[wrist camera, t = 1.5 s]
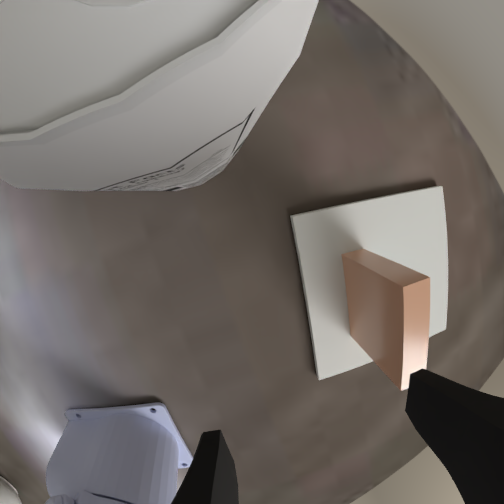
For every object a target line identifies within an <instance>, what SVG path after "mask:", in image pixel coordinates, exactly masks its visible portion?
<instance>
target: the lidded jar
mask: <svg viewBox="0 0 504 504" xmlns="http://www.w3.org/2000/svg"><path fill="white" fill-rule="evenodd" d="M0 504H22V503H21V500H20V498H19V496H18V492H17V490H16V489H15V488H14V487H13V486H12V485H11V484H10V483H9V482H8V481H7V480H6V479H4V478H3V477H2V476H0Z"/></svg>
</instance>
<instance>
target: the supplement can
mask: <svg viewBox="0 0 504 504" xmlns="http://www.w3.org/2000/svg"><path fill="white" fill-rule="evenodd" d="M317 4H318V0H0V179H2V180H3V181H5V182H7V183H8V184H10V185H12V186H13V187H15V188H21V189H48V190H68V191H179V190H182V189H186V188H190V187H194V186H198V185H202V184H203V183H205V182H206V181H208V180H209V179H211V178H212V177H214V176H215V175H217V174H219V173H220V172H222V171H223V170H224V169H225V167H226V166H227V165H228V163H229V162H230V161H231V160H232V158H233V157H234V156H235V155H236V153H237V152H238V151H239V149H240V147H241V146H242V144H243V142H244V141H245V139H246V137H247V136H248V134H249V133H250V131H251V129H252V128H253V126H254V124H255V123H256V121H257V120H258V118H259V116H260V115H261V113H262V112H263V110H264V109H265V107H266V105H267V104H268V102H269V101H270V99H271V98H272V96H273V95H274V93H275V91H276V90H277V88H278V87H279V85H280V84H281V82H282V81H283V79H284V78H285V76H286V75H287V73H288V72H289V70H290V69H291V67H292V66H293V64H294V63H295V61H296V60H297V59H298V57H299V56H300V53H301V50H302V47H303V44H304V41H305V38H306V35H307V32H308V30H309V27H310V24H311V21H312V18H313V15H314V12H315V9H316V6H317Z"/></svg>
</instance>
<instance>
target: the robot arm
mask: <svg viewBox="0 0 504 504" xmlns="http://www.w3.org/2000/svg"><path fill="white" fill-rule="evenodd" d="M151 408H154V409H155V410H152V409H151ZM405 411H406V413H407V415H408V416H409V418H410V420H411V422H412V423H413V425H414V427H415V429H416V430H417V431H418V433H419V434H420V435H421V437H422V438H423V439H424V440H425V442H426V443H427V444H428V445H429V447H430V448H431V449H432V451H433V452H434V453H435V454H436V456H437V457H438V458H439V459H440V460H441V462H442V463H443V464H444V466H445V467H446V469H447V470H448V472H449V474H450V475H451V477H452V479H453V481H454V482H455V484H456V486H457V488H458V490H459V492H460V494H461V496H462V498H463V500H464V502H465V504H504V398H501V397H497V396H493V395H490V394H486V393H483V392H480V391H477V390H474V389H471V388H469V387H466V386H464V385H461V384H459V383H456V382H454V381H451V380H449V379H447V378H444V377H442V376H440V375H437V374H435V373H433V372H430V371H428V370H426V369H423V368H422V369H420V370H418V371H416V372H414V373H411V374H410V379H409V388H408V395H407V402H406V409H405ZM65 416H66V418H67V419H68V421H69V422H68V424H67V426H66V428H65V430H64V432H63V434H62V436H61V438H60V440H59V442H58V444H57V446H56V448H55V450H54V452H53V454H52V456H51V458H50V461H49V463H48V466H47V470H46V485H47V490H48V493H49V495H50V498H49V499H48V500H47V502H46V503H45V504H239V501H238V483H237V476H236V470H235V464H234V460H233V458H232V456H231V454H230V451H229V449H228V447H227V444H226V442H225V439H224V437H223V435H222V432H221V430H215V431H208V432H203V434H202V435H201V438H200V441H199V444H198V447H197V450H196V452H195V455H194V458H193V456H192V455H191V453H190V451H189V449H188V448H187V446H186V444H185V442H184V440H183V439H182V437H181V435H180V433H179V431H178V429H177V427H176V426H175V424H174V422H173V420H172V418H171V416H170V414H169V412H168V410H167V408H166V406H165V405H164V404H163V403H160V402H156V403H148V404H140V405H130V406H120V407H108V408H92V409H68V410H66V412H65ZM187 467H189V469H188V472H187V474H186V476H185V478H184V480H183V482H182V484H181V486H180V488H179V490H178V492H177V493H176V490H177V474H178V468H187Z"/></svg>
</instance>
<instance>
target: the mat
mask: <svg viewBox="0 0 504 504" xmlns="http://www.w3.org/2000/svg"><path fill="white" fill-rule="evenodd" d="M290 218H291V223H292V229H293V234H294V239H295V244H296V250H297V255H298V261H299V266H300V272H301V278H302V283H303V289H304V295H305V301H306V307H307V314H308V320H309V326H310V333H311V339H312V346H313V353H314V360H315V367H316V374H317V377H318V379H319V380H321V379H324V378H327V377H331V376H334V375H337V374H339V373H342V372H345V371H348V370H351V369H354V368H356V367H359V366H362V365H365V364H367V363H370V362H372V361H373V360H372V359H371V358H370V357H369V355H368V354H367V353H366V352H365V351H364V350H363V349H362V348H361V347H360V346H359V345H358V343H357V342H356V341H355V340H354V339H353V338H352V337H351V336H350V325H349V314H348V304H347V295H346V286H345V278H344V270H343V262H342V255H341V254H344V253H348V252H352V251H356V250H360V249H366V250H368V251H370V252H373V253H375V254H378V255H380V256H382V257H385V258H387V259H389V260H392V261H394V262H396V263H399V264H401V265H403V266H406V267H408V268H410V269H413V270H415V271H417V272H419V273H422V274H424V275H426V276H428V277H430V324H429V337H431V336H433V335H435V334H437V333H439V332H441V331H443V330H445V329H446V320H447V301H448V247H447V229H446V216H445V205H444V196H443V188H442V186H434V187H428V188H423V189H418V190H412V191H407V192H402V193H397V194H392V195H386V196H381V197H376V198H371V199H366V200H361V201H356V202H352V203H347V204H342V205H337V206H332V207H328V208H323V209H318V210H314V211H309V212H304V213H300V214H295V215H291V216H290Z"/></svg>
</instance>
